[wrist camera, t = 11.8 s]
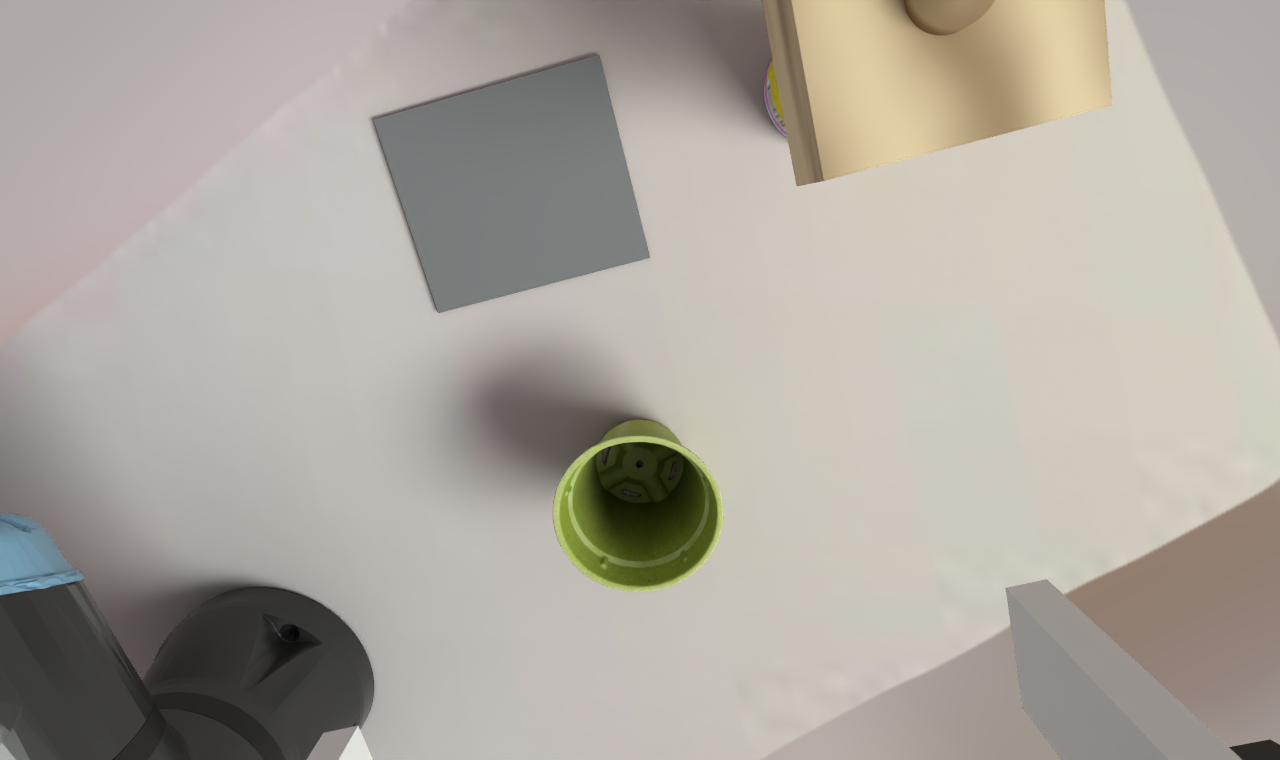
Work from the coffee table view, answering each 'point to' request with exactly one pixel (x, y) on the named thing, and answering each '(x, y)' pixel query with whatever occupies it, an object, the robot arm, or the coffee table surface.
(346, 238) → the coffee table surface
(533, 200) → the mat
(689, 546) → the plant pot
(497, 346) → the coffee table surface
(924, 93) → the lid
